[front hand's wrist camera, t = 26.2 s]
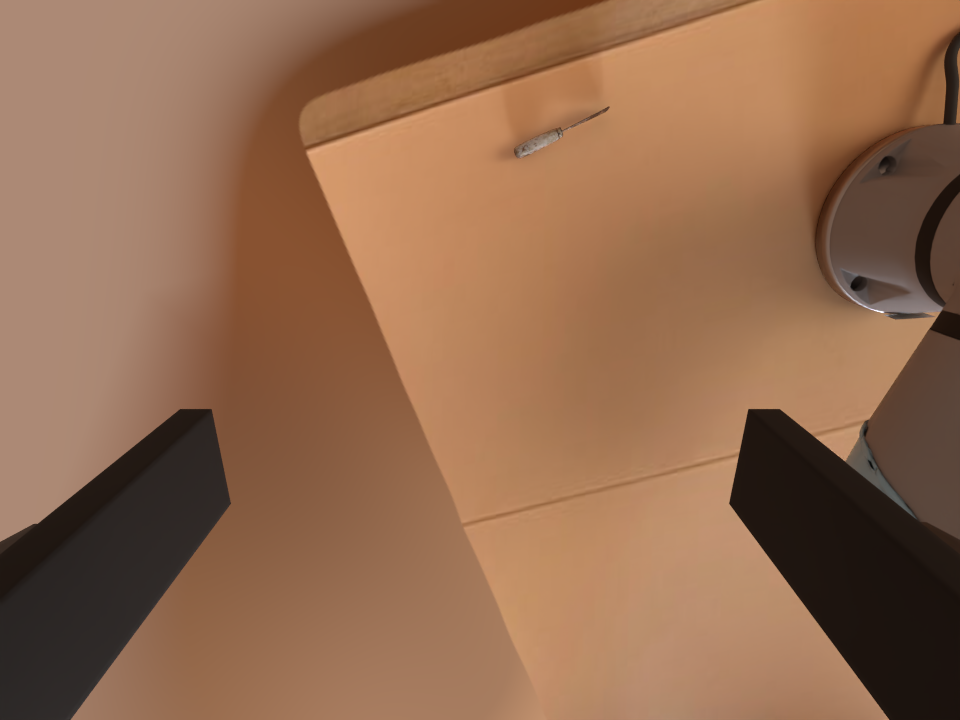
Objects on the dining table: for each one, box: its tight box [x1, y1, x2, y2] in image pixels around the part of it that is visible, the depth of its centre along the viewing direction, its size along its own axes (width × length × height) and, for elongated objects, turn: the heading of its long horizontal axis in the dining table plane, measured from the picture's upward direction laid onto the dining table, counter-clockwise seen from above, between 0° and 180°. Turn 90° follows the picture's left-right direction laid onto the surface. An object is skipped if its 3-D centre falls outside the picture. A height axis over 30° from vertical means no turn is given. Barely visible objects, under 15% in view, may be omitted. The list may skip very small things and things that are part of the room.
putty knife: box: [514, 107, 609, 158], centre depth 41 cm, size 1×8×2 cm, turn 116°
